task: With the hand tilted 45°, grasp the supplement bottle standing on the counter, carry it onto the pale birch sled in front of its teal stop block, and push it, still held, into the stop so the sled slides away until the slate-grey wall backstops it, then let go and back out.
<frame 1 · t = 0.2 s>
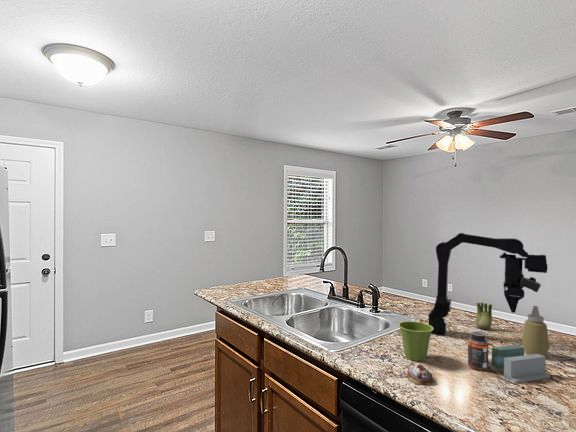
hand: (512, 309, 128), 14 cm above the worktop, tool pointing down, fingers open, 9 cm apart
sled: (496, 352, 113), point 3 cm above the worktop, slide at 0.0 cm
supplement bottle: (477, 367, 109), on the worktop
pastry: (419, 380, 100), on the worktop
squeeze bottle: (535, 355, 120), on the worktop
fennel bulb: (483, 329, 148), on the worktop
backstop wall: (524, 376, 103), on the worktop
plant pot: (415, 357, 116), on the worktop
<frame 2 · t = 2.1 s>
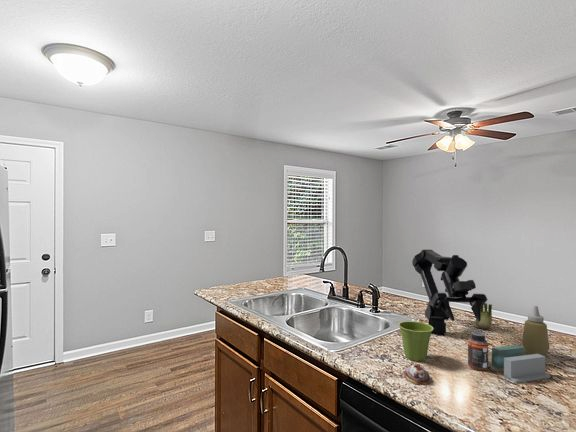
hand: (466, 320, 117), 13 cm above the worktop, tool tilted 45°, fingers open, 9 cm apart
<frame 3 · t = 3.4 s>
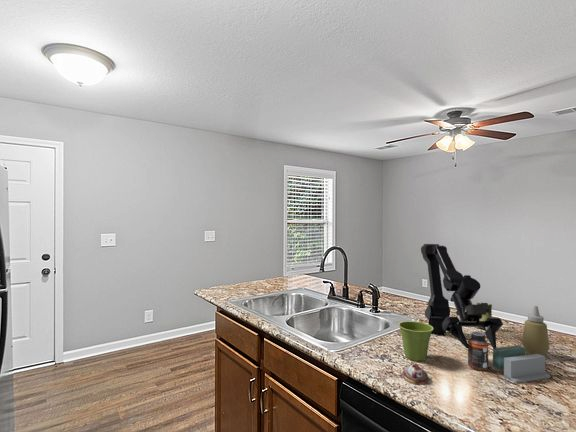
hand: (481, 348, 107), 7 cm above the worktop, tool tilted 45°, fingers open, 9 cm apart
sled: (497, 353, 113), point 3 cm above the worktop, slide at 0.4 cm, touching gripper
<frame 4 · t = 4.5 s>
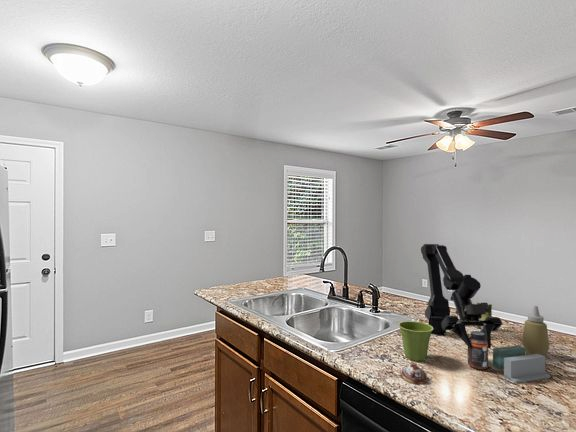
hand: (480, 347, 108), 7 cm above the worktop, tool tilted 45°, fingers closed on supplement bottle, 6 cm apart
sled: (497, 353, 113), point 3 cm above the worktop, slide at 0.4 cm
supplement bottle: (477, 366, 109), on the worktop, touching gripper
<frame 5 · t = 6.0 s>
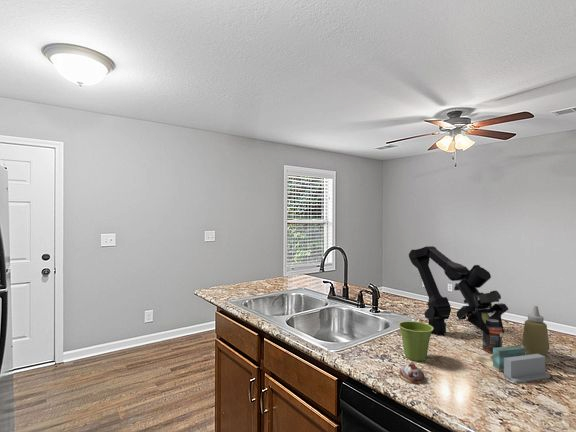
hand: (496, 333, 113), 10 cm above the worktop, tool tilted 45°, fingers closed on supplement bottle, 6 cm apart
supplement bottle: (492, 352, 115), point 3 cm above the worktop, touching gripper
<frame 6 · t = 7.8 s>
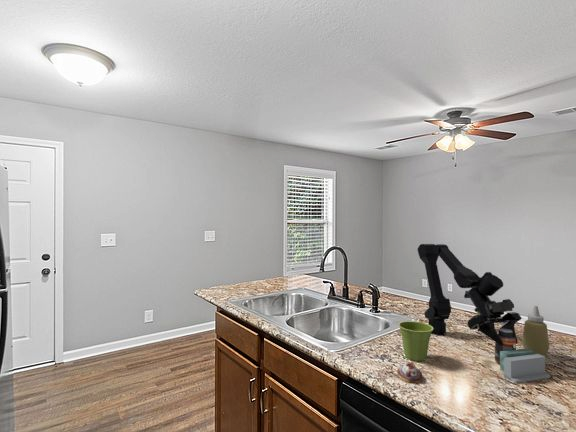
hand: (509, 344, 108), 8 cm above the worktop, tool tilted 45°, fingers closed on supplement bottle, 6 cm apart
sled: (504, 356, 110), point 3 cm above the worktop, slide at 3.1 cm
supplement bottle: (504, 363, 110), point 1 cm above the worktop, touching gripper
when the fingers open (8 cm above the worktop, at t = 8.0 s): supplement bottle stays where it is, resting on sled.
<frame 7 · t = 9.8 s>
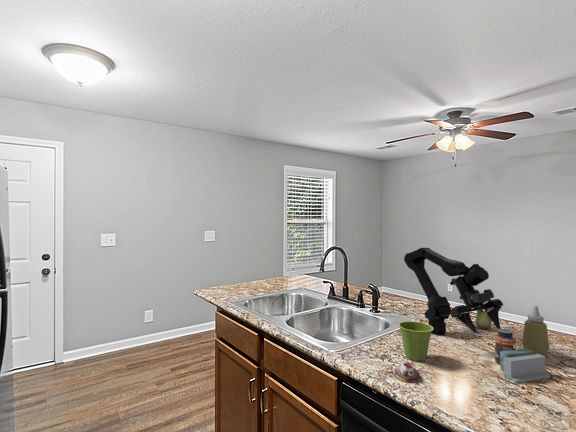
hand: (487, 330, 118), 9 cm above the worktop, tool tilted 35°, fingers open, 9 cm apart
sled: (505, 356, 110), point 3 cm above the worktop, slide at 3.3 cm, touching supplement bottle
supplement bottle: (505, 364, 110), point 1 cm above the worktop, touching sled
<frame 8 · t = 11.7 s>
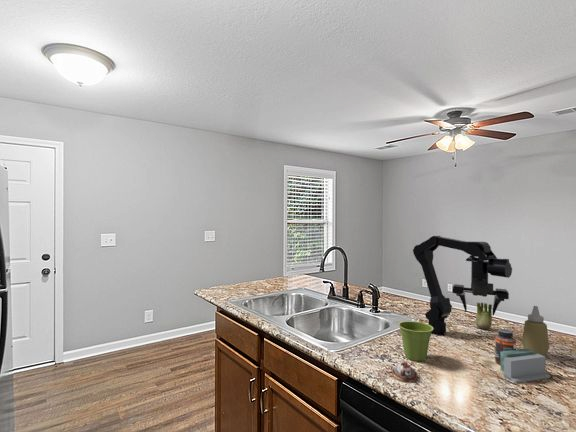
hand: (479, 313, 127), 13 cm above the worktop, tool pointing down, fingers open, 9 cm apart
at the end: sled slide at 3.3 cm; supplement bottle 0.1 cm from the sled (horizontally); supplement bottle tilted 0° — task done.
